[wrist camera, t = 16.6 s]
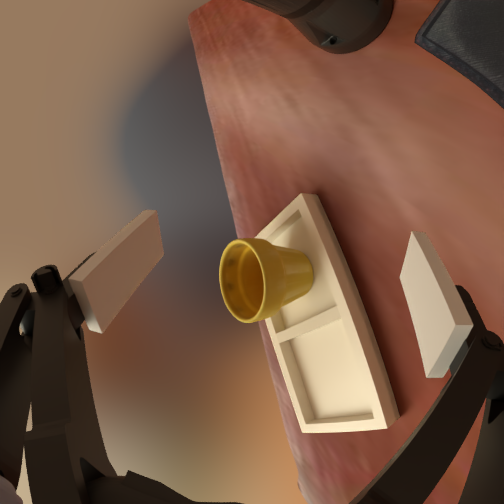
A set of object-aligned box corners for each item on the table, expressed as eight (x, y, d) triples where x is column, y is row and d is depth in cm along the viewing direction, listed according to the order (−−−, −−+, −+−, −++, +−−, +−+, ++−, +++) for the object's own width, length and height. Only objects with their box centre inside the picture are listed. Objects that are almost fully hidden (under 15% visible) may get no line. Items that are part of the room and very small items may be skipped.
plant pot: (334, 299, 38) (274, 313, 32) (285, 317, 46) (229, 329, 40) (310, 224, 40) (249, 224, 35) (267, 253, 48) (211, 257, 43)
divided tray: (257, 248, 52) (242, 249, 51) (317, 194, 40) (301, 192, 39) (316, 425, 42) (302, 432, 40) (400, 417, 30) (387, 428, 28)
